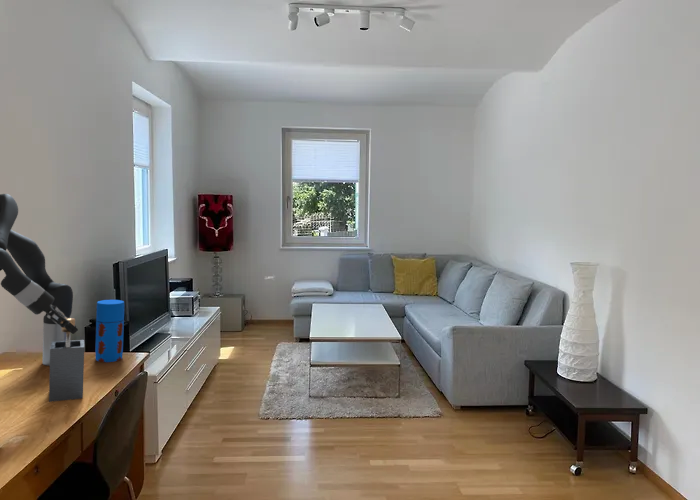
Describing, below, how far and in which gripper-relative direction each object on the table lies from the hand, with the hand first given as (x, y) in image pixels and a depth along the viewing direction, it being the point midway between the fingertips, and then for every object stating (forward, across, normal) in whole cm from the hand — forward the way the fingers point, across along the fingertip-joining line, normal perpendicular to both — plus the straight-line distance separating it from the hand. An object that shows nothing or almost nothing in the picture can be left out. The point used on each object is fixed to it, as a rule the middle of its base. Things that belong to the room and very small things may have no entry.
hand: (74, 330), depth 170 cm
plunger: (+14, 0, -17) cm, 22 cm away
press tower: (+15, 0, -18) cm, 23 cm away
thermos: (+29, -38, -4) cm, 48 cm away
